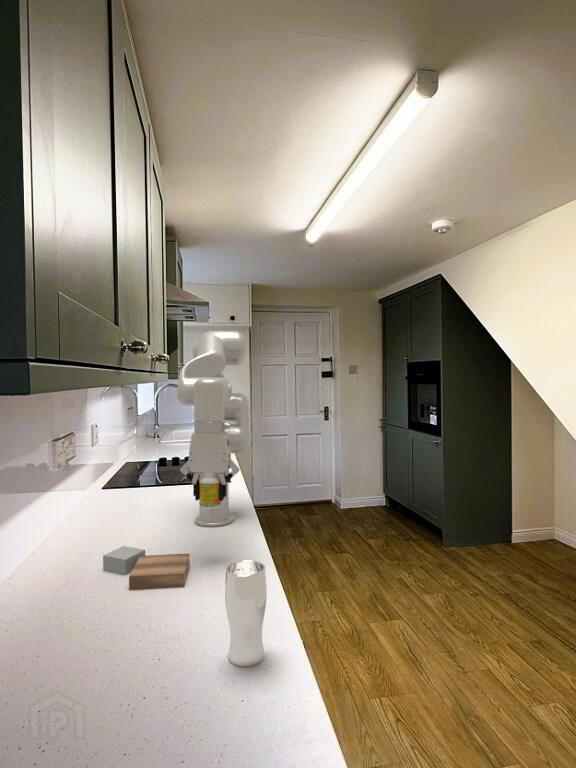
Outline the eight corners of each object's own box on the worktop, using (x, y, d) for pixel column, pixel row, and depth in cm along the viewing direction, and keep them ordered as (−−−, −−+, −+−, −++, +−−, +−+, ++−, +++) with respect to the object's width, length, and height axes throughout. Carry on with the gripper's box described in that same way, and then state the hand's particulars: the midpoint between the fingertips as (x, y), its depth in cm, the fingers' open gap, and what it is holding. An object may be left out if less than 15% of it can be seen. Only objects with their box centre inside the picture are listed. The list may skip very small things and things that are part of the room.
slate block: (124, 561, 121) (123, 545, 120) (145, 565, 118) (145, 549, 118) (103, 571, 114) (103, 555, 114) (125, 576, 111) (125, 559, 111)
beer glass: (267, 643, 82) (266, 559, 82) (266, 668, 75) (266, 576, 75) (227, 644, 82) (226, 560, 82) (223, 669, 75) (222, 576, 75)
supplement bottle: (200, 510, 114) (199, 471, 114) (198, 504, 120) (198, 466, 119) (222, 508, 116) (221, 469, 116) (219, 502, 121) (219, 465, 121)
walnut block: (140, 567, 116) (140, 555, 115) (189, 565, 117) (189, 553, 117) (129, 589, 104) (129, 576, 104) (184, 586, 105) (184, 573, 105)
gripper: (245, 426, 120) (246, 495, 121) (180, 425, 121) (181, 494, 122) (240, 429, 113) (241, 504, 113) (171, 429, 114) (172, 503, 115)
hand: (210, 498), depth 118 cm, fingers closed on supplement bottle, 5 cm apart
